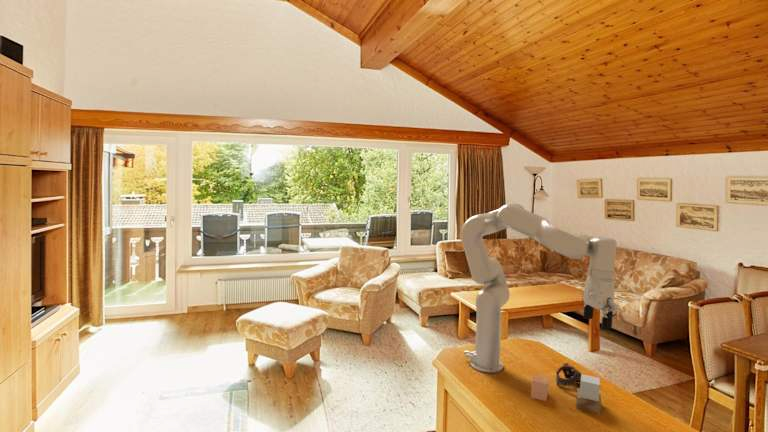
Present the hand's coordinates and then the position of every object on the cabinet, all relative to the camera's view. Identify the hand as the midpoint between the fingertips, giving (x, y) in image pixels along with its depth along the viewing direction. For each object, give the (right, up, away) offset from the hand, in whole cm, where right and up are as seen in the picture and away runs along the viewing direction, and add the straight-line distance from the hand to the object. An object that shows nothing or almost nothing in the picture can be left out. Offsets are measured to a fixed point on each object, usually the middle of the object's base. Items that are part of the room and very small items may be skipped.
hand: (596, 323), depth 141 cm
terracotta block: (-19, -25, +1) cm, 32 cm away
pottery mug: (-5, -25, +10) cm, 27 cm away
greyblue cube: (-5, -22, -5) cm, 23 cm away
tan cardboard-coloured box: (-5, -26, -4) cm, 27 cm away
